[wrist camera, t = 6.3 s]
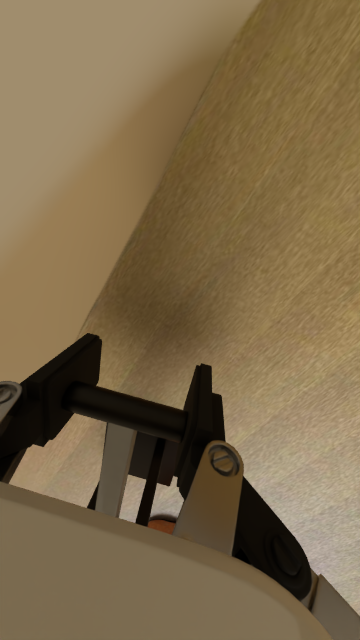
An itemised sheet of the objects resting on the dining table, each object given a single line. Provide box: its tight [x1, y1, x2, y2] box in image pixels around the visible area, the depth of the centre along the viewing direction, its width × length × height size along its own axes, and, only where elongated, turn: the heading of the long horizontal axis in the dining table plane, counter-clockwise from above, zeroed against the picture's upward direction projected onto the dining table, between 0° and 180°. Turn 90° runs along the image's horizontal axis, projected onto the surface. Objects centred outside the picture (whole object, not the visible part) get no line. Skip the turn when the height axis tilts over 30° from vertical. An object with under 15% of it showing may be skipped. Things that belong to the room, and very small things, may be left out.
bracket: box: [87, 422, 178, 527], centre depth 18 cm, size 11×9×14 cm
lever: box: [61, 381, 188, 518], centre depth 11 cm, size 18×5×2 cm, turn 167°
